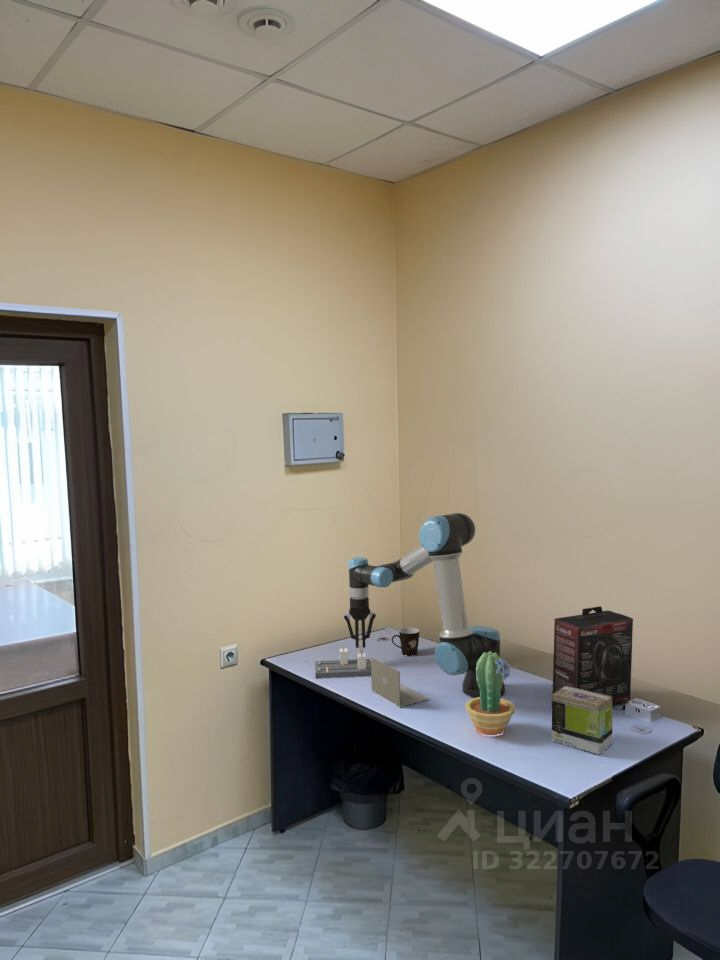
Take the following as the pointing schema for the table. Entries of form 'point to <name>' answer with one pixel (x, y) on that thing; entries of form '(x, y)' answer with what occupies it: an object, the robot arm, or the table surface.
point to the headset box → (594, 653)
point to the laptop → (392, 685)
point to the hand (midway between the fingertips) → (360, 655)
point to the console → (341, 669)
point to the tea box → (582, 719)
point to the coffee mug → (408, 640)
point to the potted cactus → (490, 696)
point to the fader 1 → (343, 656)
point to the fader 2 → (361, 661)
